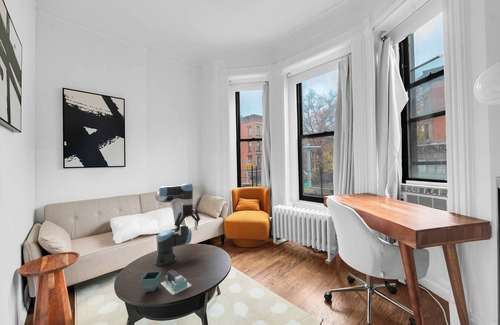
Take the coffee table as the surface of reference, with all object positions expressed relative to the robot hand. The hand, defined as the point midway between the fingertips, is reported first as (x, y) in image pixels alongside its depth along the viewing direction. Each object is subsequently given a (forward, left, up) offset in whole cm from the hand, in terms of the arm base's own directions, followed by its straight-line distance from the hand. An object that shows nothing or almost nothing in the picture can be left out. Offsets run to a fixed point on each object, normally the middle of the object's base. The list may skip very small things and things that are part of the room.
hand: (188, 232), depth 157 cm
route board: (+14, -17, -27) cm, 35 cm away
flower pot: (+8, -30, -27) cm, 41 cm away
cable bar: (+13, -17, -26) cm, 34 cm away
